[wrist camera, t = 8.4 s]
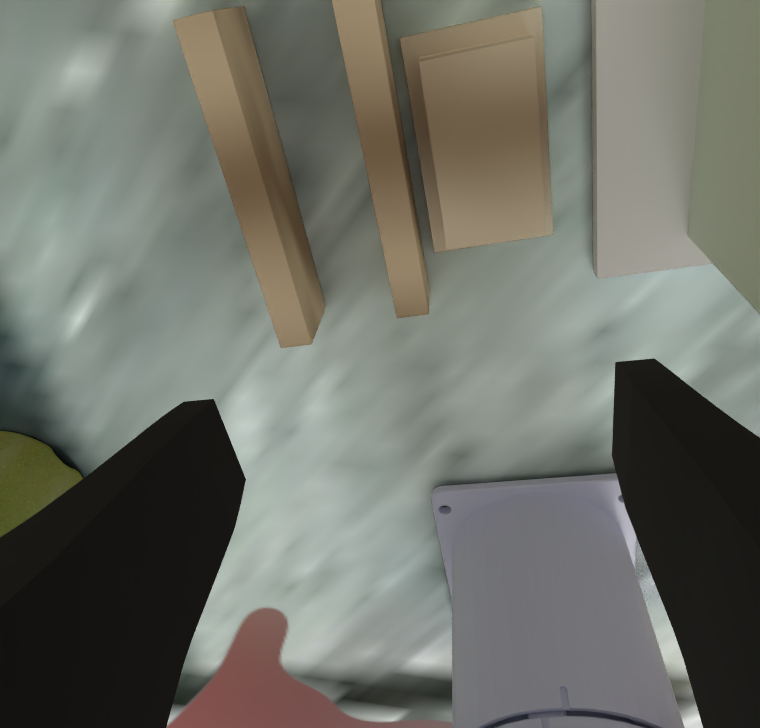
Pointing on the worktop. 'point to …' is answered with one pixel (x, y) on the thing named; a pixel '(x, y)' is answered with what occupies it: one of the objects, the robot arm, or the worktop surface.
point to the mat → (644, 133)
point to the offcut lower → (412, 52)
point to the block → (729, 145)
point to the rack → (269, 168)
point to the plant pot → (29, 478)
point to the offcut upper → (486, 140)
